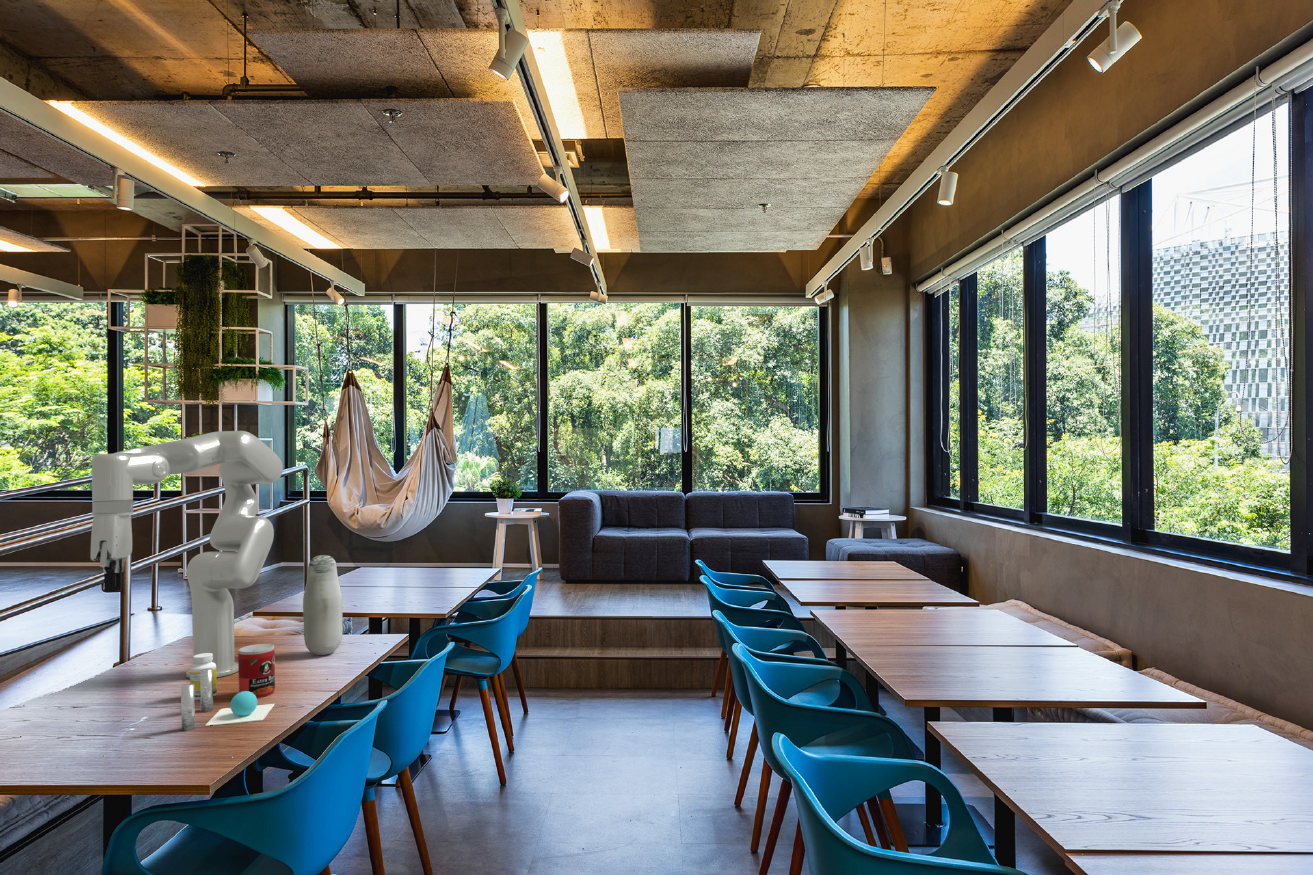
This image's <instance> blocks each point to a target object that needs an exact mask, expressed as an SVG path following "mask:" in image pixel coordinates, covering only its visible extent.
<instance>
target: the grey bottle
mask: <svg viewBox="0 0 1313 875" xmlns="http://www.w3.org/2000/svg"><path fill="white" fill-rule="evenodd" d="M337 567H338V566H337V563H336V560H335V559H334V557H333V556H331V555H327V554H320V555H316V556H314V557H313V558H311V560H310V561H309V562H308V566H307V578H306V583H305V587H304V591H303V598H302V615H303V616H302V617H303V639H304V644H305V647H306V649H307V650H308V651H309V652H310V653H311V654H314V655H318V656H324V655H329V654H333V652H336V650H337V649H338V648H339V647H340V645H341V643H342V640H343V595H342V594H343V593H342V589H341V588H342V587H341V586H340V582H339V581H340V580H339V576H338V568H337Z"/></svg>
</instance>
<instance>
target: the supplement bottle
mask: <svg viewBox="0 0 1313 875" xmlns="http://www.w3.org/2000/svg"><path fill="white" fill-rule="evenodd" d="M212 660H213V654H212V653H203V654H198V655H195V656H193V655H192V665H191V666H190V668H189V669H190V678H189V680H190V682H189V684H194V692H195V701H197V700H198V701H201V690H200V670H202V669H206V668H212V669H213V697H215V696H216V695H217V693H218V682H217V678H218V677H217V676H216V664H215V663H213V662H212ZM193 663H194V665H193Z"/></svg>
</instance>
